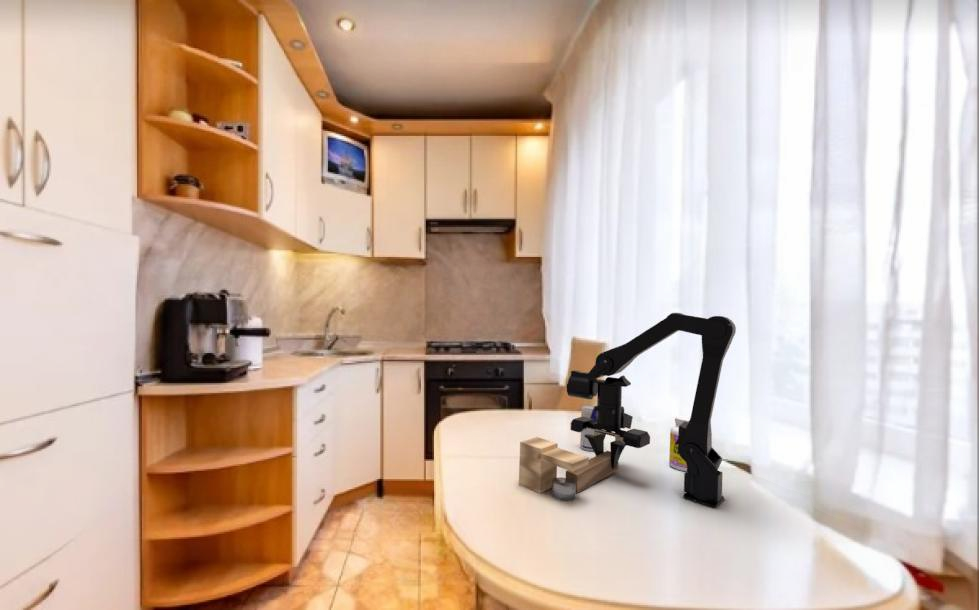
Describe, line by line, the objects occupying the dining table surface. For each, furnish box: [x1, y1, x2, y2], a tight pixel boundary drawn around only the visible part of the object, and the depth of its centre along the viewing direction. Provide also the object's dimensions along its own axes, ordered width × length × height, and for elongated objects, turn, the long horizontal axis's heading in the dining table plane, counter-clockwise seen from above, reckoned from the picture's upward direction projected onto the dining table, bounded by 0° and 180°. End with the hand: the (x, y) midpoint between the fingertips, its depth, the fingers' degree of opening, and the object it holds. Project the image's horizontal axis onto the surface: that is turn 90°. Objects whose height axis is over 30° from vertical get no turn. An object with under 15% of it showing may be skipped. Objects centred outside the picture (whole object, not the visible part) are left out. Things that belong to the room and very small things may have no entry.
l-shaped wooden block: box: [518, 436, 590, 494], centre depth 91 cm, size 14×6×10 cm, turn 45°
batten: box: [565, 450, 619, 494], centre depth 97 cm, size 3×18×4 cm, turn 135°
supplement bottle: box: [668, 415, 691, 472], centre depth 108 cm, size 7×7×13 cm
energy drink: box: [579, 404, 597, 452], centre depth 120 cm, size 5×5×12 cm
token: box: [551, 476, 577, 502], centre depth 88 cm, size 5×5×3 cm
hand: (607, 466), depth 102 cm, fingers closed on batten, 3 cm apart
